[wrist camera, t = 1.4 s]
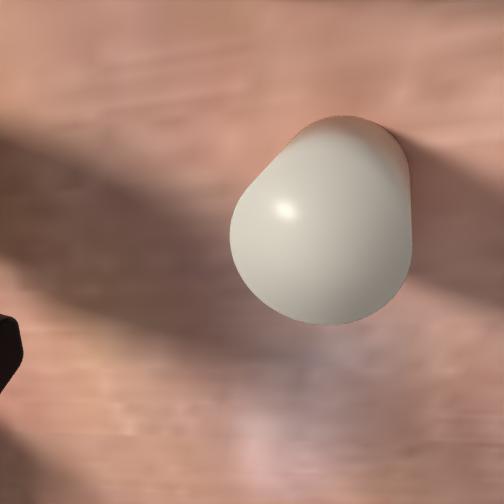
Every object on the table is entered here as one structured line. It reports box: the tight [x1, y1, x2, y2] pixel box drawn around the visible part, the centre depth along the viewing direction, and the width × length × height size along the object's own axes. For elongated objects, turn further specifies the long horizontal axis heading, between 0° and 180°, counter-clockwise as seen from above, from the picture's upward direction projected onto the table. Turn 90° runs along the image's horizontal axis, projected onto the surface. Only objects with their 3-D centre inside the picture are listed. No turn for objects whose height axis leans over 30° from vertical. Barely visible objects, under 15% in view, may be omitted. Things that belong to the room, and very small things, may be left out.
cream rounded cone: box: [230, 116, 412, 325], centre depth 15 cm, size 5×5×6 cm
